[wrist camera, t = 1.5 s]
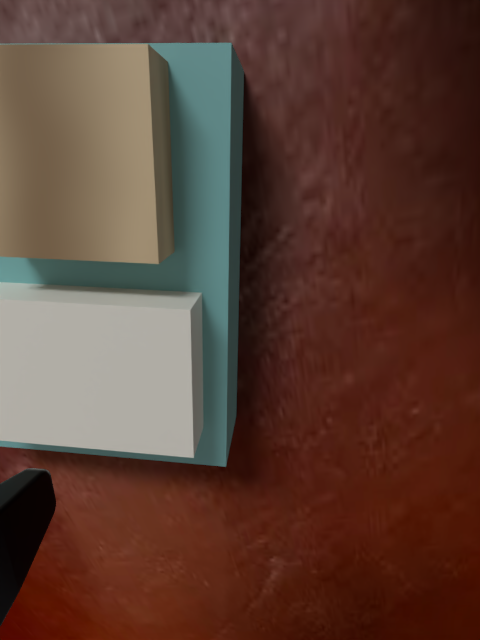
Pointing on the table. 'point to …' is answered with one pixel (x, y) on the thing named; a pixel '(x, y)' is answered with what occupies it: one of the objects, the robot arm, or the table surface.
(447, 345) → the table surface
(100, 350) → the white box
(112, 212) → the oak tile
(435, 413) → the table surface
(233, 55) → the plate
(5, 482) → the robot arm
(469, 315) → the table surface
